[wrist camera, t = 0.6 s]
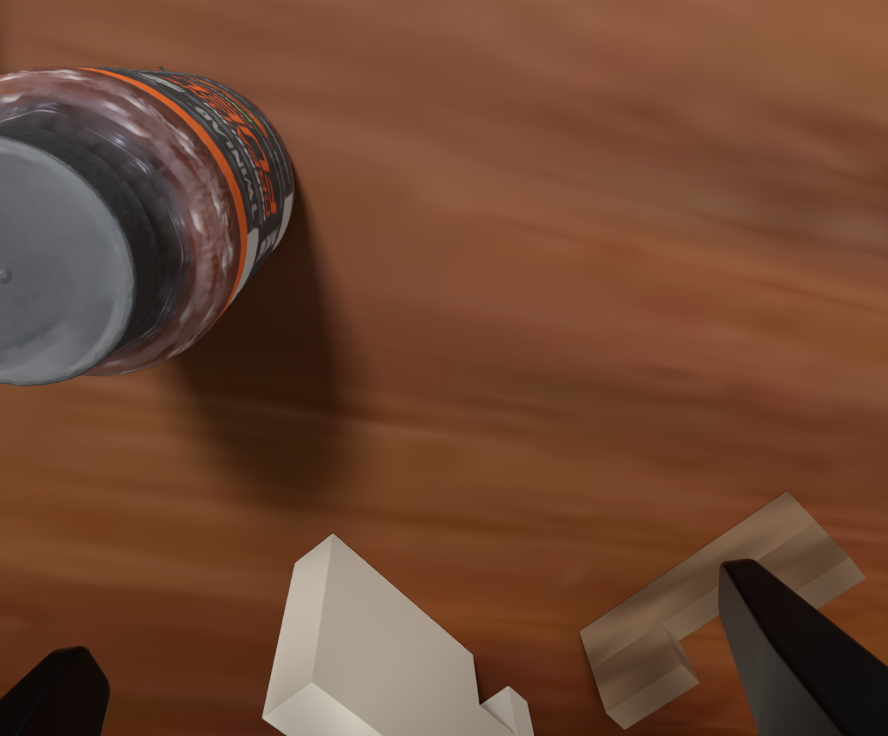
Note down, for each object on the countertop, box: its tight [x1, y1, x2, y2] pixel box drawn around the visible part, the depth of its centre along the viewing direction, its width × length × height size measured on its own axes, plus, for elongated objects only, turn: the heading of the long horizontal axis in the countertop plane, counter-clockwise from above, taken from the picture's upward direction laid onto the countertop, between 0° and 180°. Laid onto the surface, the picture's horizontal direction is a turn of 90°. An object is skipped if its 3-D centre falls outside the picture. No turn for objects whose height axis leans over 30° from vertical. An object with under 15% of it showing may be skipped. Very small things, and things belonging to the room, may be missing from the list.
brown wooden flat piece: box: [579, 491, 866, 730], centre depth 26 cm, size 10×1×4 cm, turn 130°
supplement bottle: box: [0, 66, 294, 386], centre depth 16 cm, size 6×6×11 cm
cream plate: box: [262, 534, 534, 736], centre depth 25 cm, size 12×2×7 cm, turn 41°
